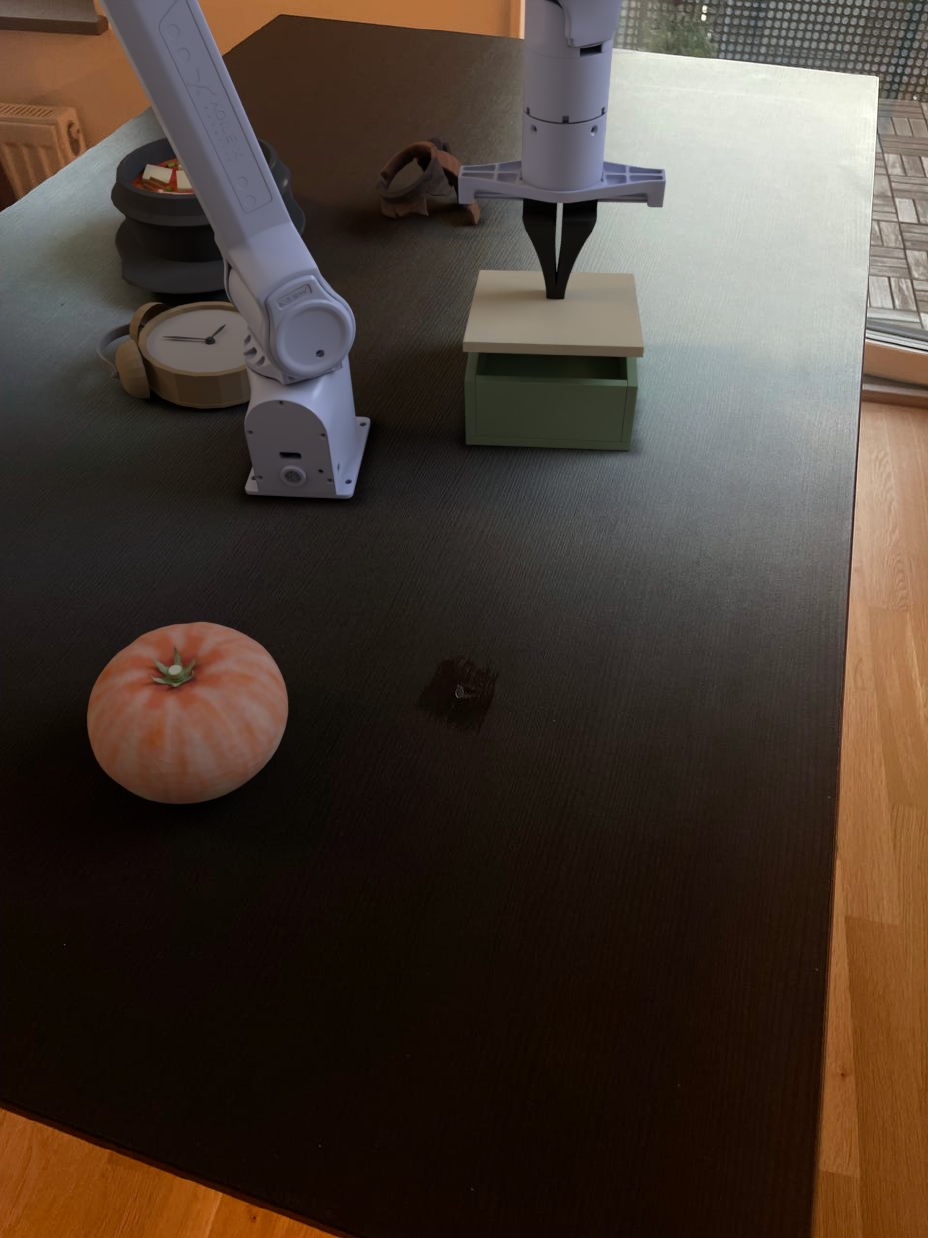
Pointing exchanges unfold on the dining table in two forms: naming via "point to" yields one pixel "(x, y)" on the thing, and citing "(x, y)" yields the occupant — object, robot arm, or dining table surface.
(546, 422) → the open box
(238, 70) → the dining table surface
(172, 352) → the alarm clock
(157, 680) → the tomato
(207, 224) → the casserole
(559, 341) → the box lid
